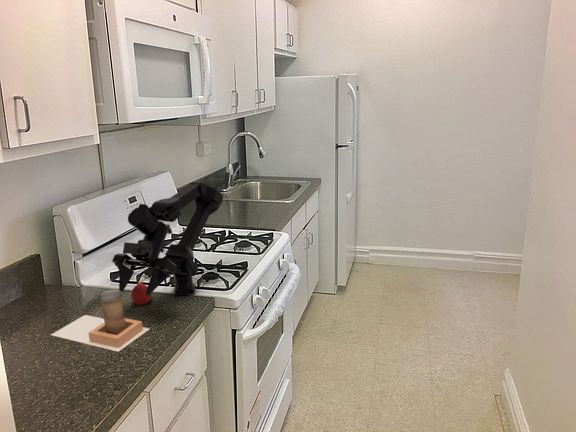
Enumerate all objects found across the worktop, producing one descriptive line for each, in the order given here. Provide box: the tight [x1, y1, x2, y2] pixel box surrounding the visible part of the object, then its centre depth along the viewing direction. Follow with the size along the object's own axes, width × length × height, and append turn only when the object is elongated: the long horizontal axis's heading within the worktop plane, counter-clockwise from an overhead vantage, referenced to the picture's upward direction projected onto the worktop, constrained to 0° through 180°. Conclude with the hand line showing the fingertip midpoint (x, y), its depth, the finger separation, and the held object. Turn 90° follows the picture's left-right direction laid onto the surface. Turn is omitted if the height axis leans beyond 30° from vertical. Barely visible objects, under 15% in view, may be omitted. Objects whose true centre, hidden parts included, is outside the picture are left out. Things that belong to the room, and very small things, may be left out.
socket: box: [88, 317, 144, 348], centre depth 128 cm, size 9×9×2 cm
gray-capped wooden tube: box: [99, 288, 126, 335], centre depth 127 cm, size 5×5×12 cm
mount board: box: [50, 314, 150, 353], centre depth 131 cm, size 23×12×1 cm, turn 66°
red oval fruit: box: [130, 280, 152, 306], centre depth 147 cm, size 6×6×8 cm
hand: (133, 293), depth 134 cm, fingers open, 9 cm apart
